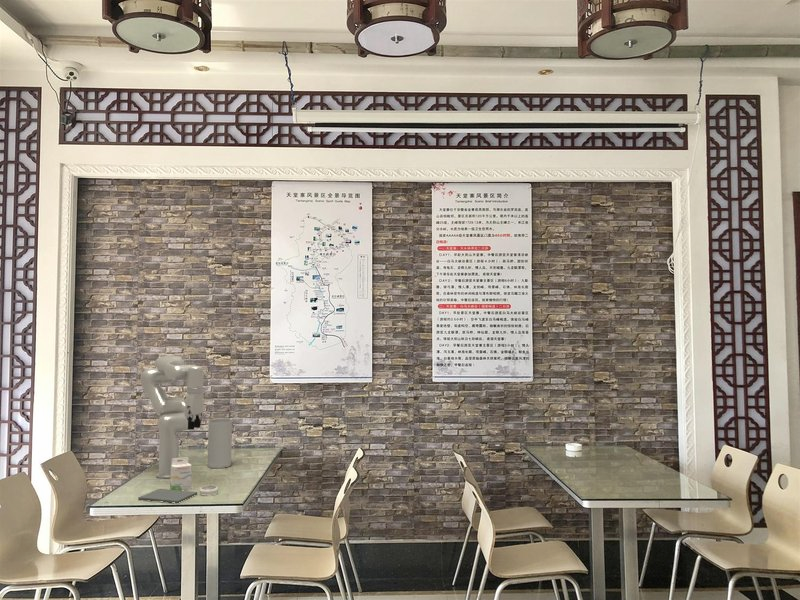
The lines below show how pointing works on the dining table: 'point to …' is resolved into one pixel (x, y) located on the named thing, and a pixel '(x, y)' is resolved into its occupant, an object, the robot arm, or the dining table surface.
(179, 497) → the rubber mat
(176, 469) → the ink box
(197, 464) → the dining table surface
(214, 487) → the white ashtray dish
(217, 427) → the cylinder vase
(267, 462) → the dining table surface
